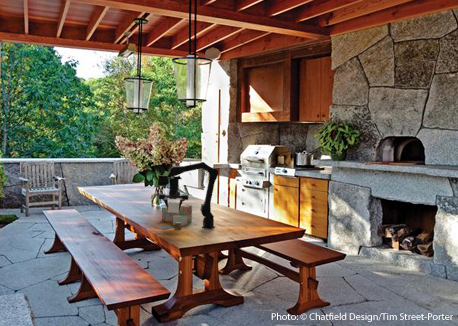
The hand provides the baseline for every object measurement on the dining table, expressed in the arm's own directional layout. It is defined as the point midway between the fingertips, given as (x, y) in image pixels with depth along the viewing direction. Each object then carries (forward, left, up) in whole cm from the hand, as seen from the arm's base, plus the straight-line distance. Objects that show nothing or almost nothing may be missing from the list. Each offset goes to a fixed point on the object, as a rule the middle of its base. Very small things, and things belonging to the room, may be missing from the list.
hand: (173, 210), depth 270 cm
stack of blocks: (+13, -16, -12) cm, 24 cm away
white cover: (0, 0, -1) cm, 1 cm away
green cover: (+4, -11, -12) cm, 17 cm away
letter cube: (-3, -2, -12) cm, 12 cm away
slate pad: (+5, +2, -12) cm, 13 cm away
